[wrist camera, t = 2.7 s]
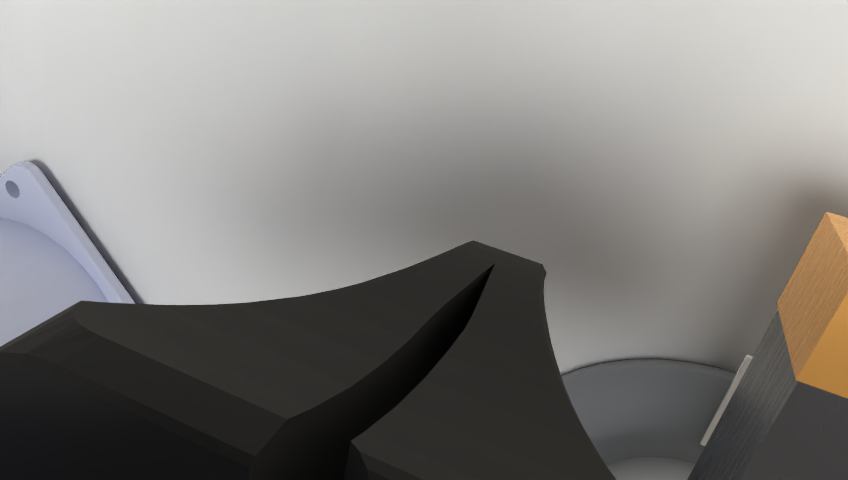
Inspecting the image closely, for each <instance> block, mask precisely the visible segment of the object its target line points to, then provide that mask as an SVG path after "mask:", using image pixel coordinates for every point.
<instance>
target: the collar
mask: <svg viewBox="0 0 848 480" xmlns="http://www.w3.org/2000/svg"><path fill="white" fill-rule="evenodd" d="M777 306H778V312H777V313H776V315H775V317H774V319H773V321H772V323H771V325H770V327H769V328H768V330H767V332H766V334H765V336H764V338H763V340H762V341H761V343H760V345H759V347H758V349H757V351H756V353H755V354H754V356H753V358H752V360H751V362H750V364H749V366H748V367H747V369H746V371H745V373H744V375H743V377H742V379H741V380H740V382H739V384H738V386H737V388H736V390H735V392H734V393H733V395H732V397H731V399H730V401H729V403H728V405H727V406H726V408H725V410H724V412H723V414H722V416H721V418H720V420H719V421H718V423H717V425H716V427H715V429H714V431H713V433H712V434H711V436H710V438H709V440H708V442H707V444H706V446H705V447H704V449H703V451H702V453H701V455H700V457H699V459H698V460H697V462H696V464H695V466H694V468H693V470H692V472H691V473H690V475H689V477H688V479H687V480H848V218H847V217H844V216H840V215H837V214H833V213H830V212H827V211H826V212H825V214H824V216H823V218H822V219H821V221H820V223H819V225H818V227H817V229H816V231H815V233H814V234H813V236H812V238H811V240H810V242H809V244H808V246H807V248H806V249H805V251H804V253H803V255H802V257H801V259H800V261H799V263H798V264H797V266H796V268H795V270H794V272H793V274H792V276H791V278H790V279H789V281H788V283H787V285H786V287H785V289H784V291H783V293H782V294H781V296H780V298H779V300H778V302H777Z"/></svg>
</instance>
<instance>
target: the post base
mask: <svg viewBox="0 0 848 480" xmlns="http://www.w3.org/2000/svg"><path fill="white" fill-rule="evenodd" d="M752 358H753V356H750V355H746V357H745V358H744V360H743V362H742V364H741V366H740V368H739V370H738V372H737V373H733V372H730V371H726V370H723V369H720V368H716V367H711V366H706V365H701V364H696V363H691V362H684V361H673V360H662V359H637V360H623V361H615V362H607V363H601V364H597V365H593V366H589V367H585V368H581V369H578V370H575V371H573V372H570V373H568V374H565V375H563V376H561V378H562V380H563V383H564V386H565V388H566V391H567V393H568V395H569V398H570V400H571V403H572V405H573V407H574V409H575V411H576V413H577V415H578V418H579V420H580V422H581V424H582V426H583V428H584V429H585V431H586V433H587V435H588V436H589V438H590V440H591V441H592V443H593V445H594V446H595V448H596V450H597V452H598V453H599V455H600V457H601V458H602V460H603V461H604V463H605V464H606V466H607V467H608V469H609V470H610V471H611V473H612V474H613V476H614V477H615V478H616V480H687V479H688V477H689V475H690V473H691V472H692V470H693V468H694V466H695V464H696V462H697V460H698V459H699V457H700V455H701V453H702V451H703V449H704V447H705V446H706V444H707V442H708V440H709V438H710V436H711V434H712V433H713V431H714V429H715V427H716V425H717V423H718V421H719V420H720V418H721V416H722V414H723V412H724V410H725V408H726V406H727V405H728V403H729V401H730V399H731V397H732V395H733V393H734V392H735V390H736V388H737V386H738V384H739V382H740V380H741V379H742V377H743V375H744V373H745V371H746V369H747V367H748V366H749V364H750V362H751V360H752Z"/></svg>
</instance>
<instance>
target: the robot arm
mask: <svg viewBox="0 0 848 480" xmlns="http://www.w3.org/2000/svg"><path fill="white" fill-rule="evenodd" d="M545 276H546V271H545V269H544V267H543V265H542V264H540V263H537V262H534V261H531V260H528V259H525V258H522V257H519V256H516V255H514V254H511V253H508V252H505V251H502V250H499V249H496V248H493V247H490V246H487V245H485V244H482V243H479V242H476V241H471V242H468V243H465V244H463V245H461V246H458V247H456V248H454V249H452V250H449V251H447V252H445V253H442V254H440V255H438V256H435V257H433V258H430V259H428V260H425V261H423V262H420V263H418V264H415V265H413V266H410V267H408V268H405V269H402V270H399V271H396V272H393V273H390V274H387V275H384V276H381V277H378V278H375V279H372V280H369V281H366V282H363V283H359V284H356V285H352V286H348V287H344V288H340V289H336V290H331V291H326V292H321V293H316V294H311V295H306V296H300V297H291V298H283V299H275V300H267V301H259V302H250V303H237V304H218V305H150V304H136V303H135V302H134V301H133V299H132V298H131V296H130V295H129V294H128V292H127V291H126V289H125V288H124V287H123V285H122V284H121V282H120V281H119V280H118V278H117V277H116V275H115V274H114V273H113V271H112V270H111V268H110V267H109V266H108V264H107V263H106V261H105V260H104V259H103V257H102V256H101V254H100V253H99V251H98V250H97V249H96V247H95V246H94V244H93V243H92V242H91V240H90V239H89V237H88V236H87V235H86V233H85V232H84V230H83V229H82V228H81V226H80V225H79V223H78V222H77V221H76V219H75V218H74V216H73V215H72V214H71V212H70V211H69V209H68V208H67V207H66V205H65V204H64V202H63V201H62V199H61V198H60V197H59V195H58V194H57V192H56V191H55V190H54V188H53V187H52V185H51V184H50V183H49V181H48V180H47V178H46V177H45V176H44V174H43V173H42V171H41V170H40V169H39V168H38V167H37V166H36V165H34V164H33V163H31V162H27V161H24V162H21V163H18V164H15V165H13V166H11V167H10V168H9V169H8V170H7V171H6V172H5V173H4V174H2V175H1V176H0V480H616V478H615V477H614V476H613V474H612V473H611V471H610V470H609V469H608V467H607V466H606V464H605V463H604V461H603V460H602V458H601V457H600V455H599V453H598V452H597V450H596V448H595V446H594V445H593V443H592V441H591V440H590V438H589V436H588V435H587V433H586V431H585V429H584V428H583V426H582V424H581V422H580V420H579V418H578V415H577V413H576V411H575V409H574V407H573V405H572V403H571V400H570V398H569V395H568V393H567V391H566V388H565V386H564V383H563V380H562V378H561V375H560V372H559V369H558V366H557V362H556V359H555V355H554V352H553V348H552V344H551V340H550V336H549V331H548V325H547V319H546V314H545V306H544V279H545Z"/></svg>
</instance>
